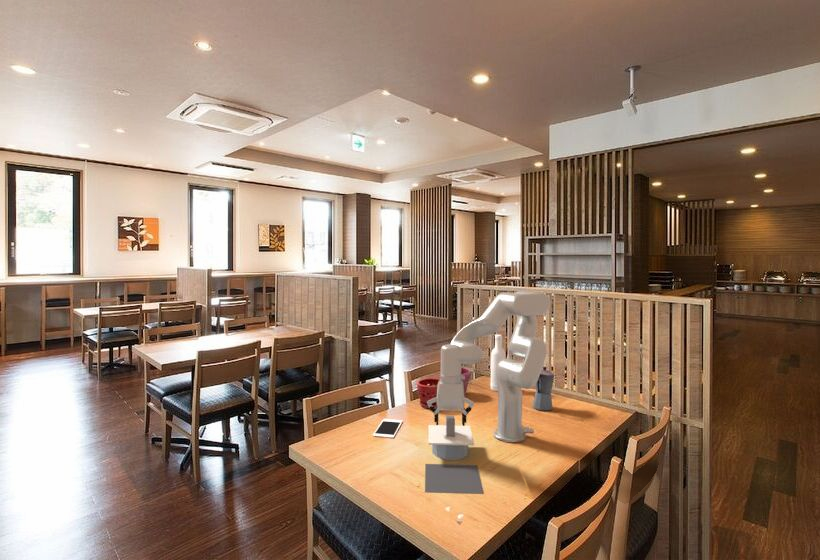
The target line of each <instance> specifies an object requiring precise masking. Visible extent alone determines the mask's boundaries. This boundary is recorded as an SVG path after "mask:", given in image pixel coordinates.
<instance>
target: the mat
mask: <svg viewBox="0 0 820 560" xmlns="http://www.w3.org/2000/svg"><path fill="white" fill-rule="evenodd" d="M424 466H425V468H424V469H425V471H424V472H425V473H424V481H425V482H424V493H428V494H429V493H431V494H433V493H434V494H436V493H437V494H440V493H441V494H464V495H465V494H468V495H469V494H470V495H473V494H474V495H484V488H483V484H482V479H481V476H480V470H479V466H478V464H450V463H449V464H445V463H443V464H442V463H425V464H424Z"/></svg>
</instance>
